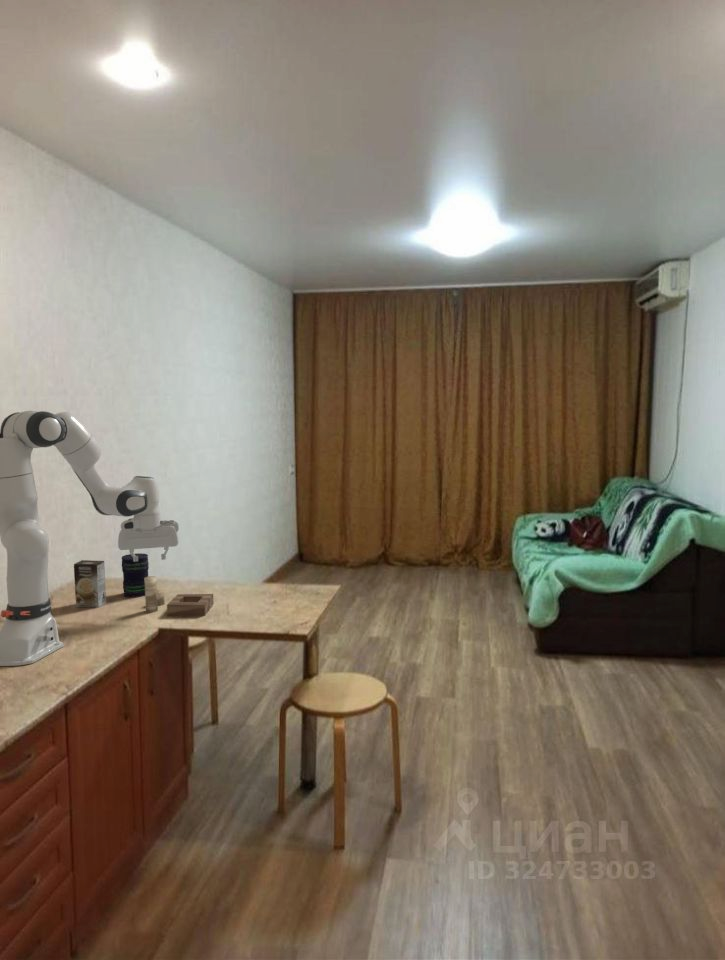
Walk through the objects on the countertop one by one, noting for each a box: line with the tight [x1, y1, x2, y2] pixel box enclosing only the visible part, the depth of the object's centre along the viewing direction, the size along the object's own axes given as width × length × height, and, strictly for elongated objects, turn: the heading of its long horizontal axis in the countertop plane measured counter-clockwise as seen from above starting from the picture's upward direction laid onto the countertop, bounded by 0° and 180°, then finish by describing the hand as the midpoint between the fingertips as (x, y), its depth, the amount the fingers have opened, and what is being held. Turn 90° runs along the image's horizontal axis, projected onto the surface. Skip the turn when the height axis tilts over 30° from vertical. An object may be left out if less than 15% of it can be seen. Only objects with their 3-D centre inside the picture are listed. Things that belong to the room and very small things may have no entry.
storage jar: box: [121, 552, 150, 598], centre depth 265 cm, size 10×10×15 cm
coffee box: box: [73, 559, 107, 608], centre depth 251 cm, size 9×6×16 cm
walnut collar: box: [166, 593, 215, 617], centre depth 243 cm, size 13×13×4 cm
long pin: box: [144, 575, 159, 613], centre depth 243 cm, size 4×4×12 cm
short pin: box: [157, 588, 166, 607], centre depth 251 cm, size 4×4×5 cm
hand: (149, 560), depth 242 cm, fingers open, 8 cm apart
